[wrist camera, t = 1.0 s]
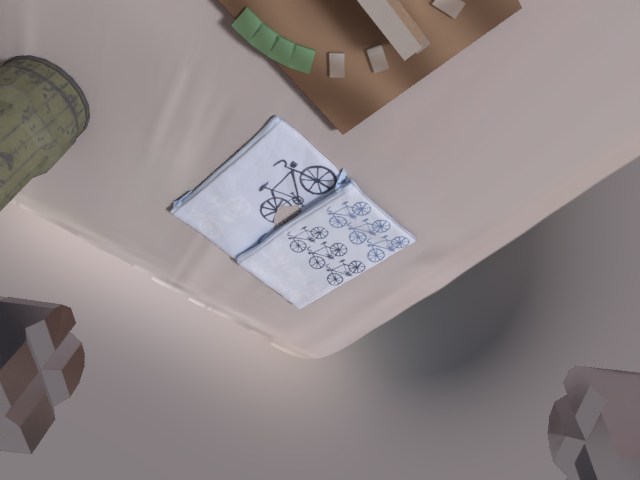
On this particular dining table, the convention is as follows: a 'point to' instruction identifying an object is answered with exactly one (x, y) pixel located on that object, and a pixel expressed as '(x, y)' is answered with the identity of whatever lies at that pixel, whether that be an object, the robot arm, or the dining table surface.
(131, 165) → the dining table surface
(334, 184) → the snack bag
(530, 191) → the dining table surface
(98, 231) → the dining table surface
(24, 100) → the thermos
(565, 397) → the robot arm
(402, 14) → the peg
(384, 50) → the dial board
